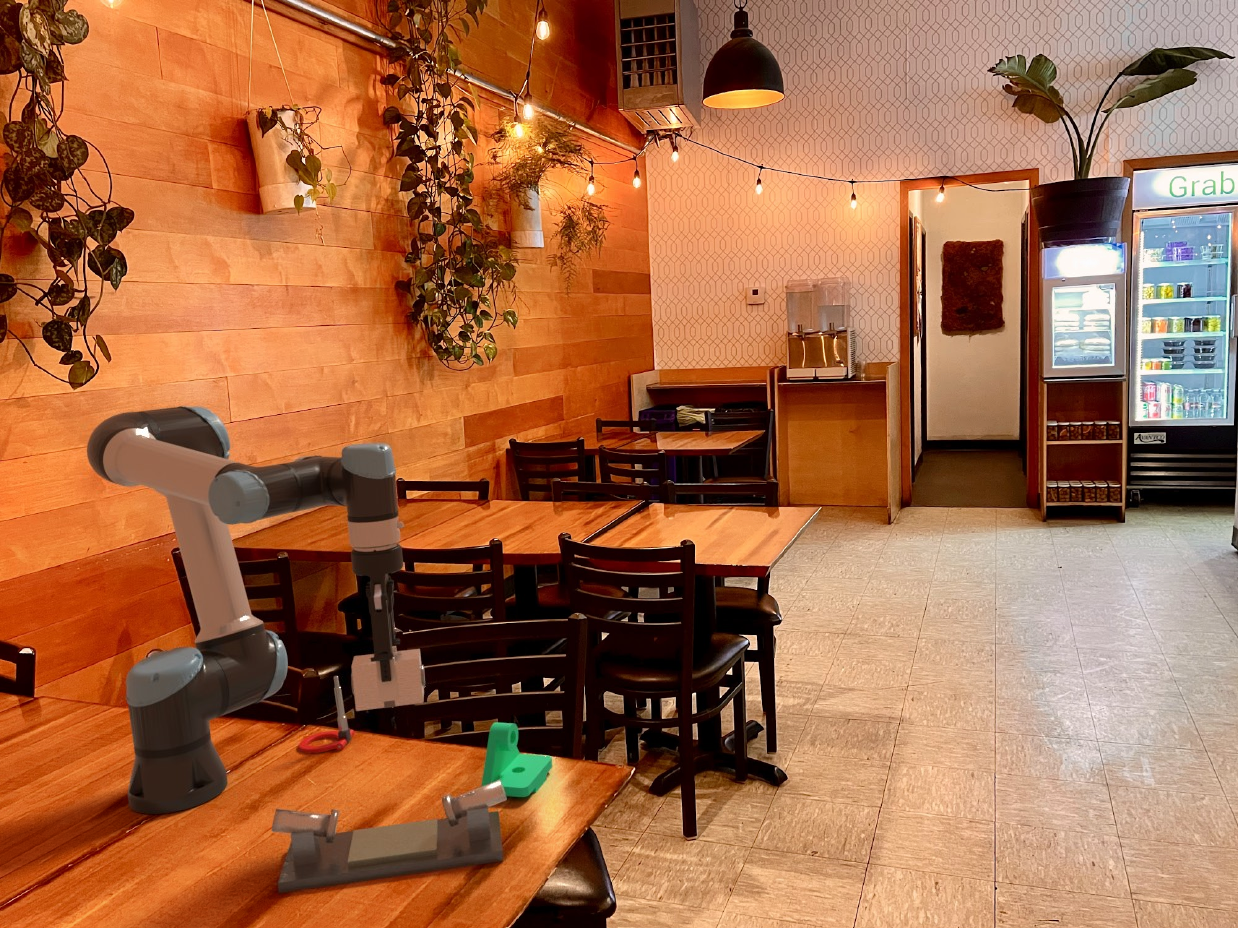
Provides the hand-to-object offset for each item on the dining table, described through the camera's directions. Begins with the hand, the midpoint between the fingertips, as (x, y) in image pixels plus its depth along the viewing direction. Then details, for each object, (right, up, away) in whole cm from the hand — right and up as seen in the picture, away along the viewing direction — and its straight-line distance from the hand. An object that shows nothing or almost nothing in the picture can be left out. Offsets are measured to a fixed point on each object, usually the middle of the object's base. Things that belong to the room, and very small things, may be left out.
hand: (389, 693), depth 152 cm
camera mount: (+19, -17, +9) cm, 27 cm away
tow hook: (-19, -17, +30) cm, 39 cm away
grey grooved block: (0, -1, 0) cm, 1 cm away
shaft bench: (+3, -20, -12) cm, 24 cm away
